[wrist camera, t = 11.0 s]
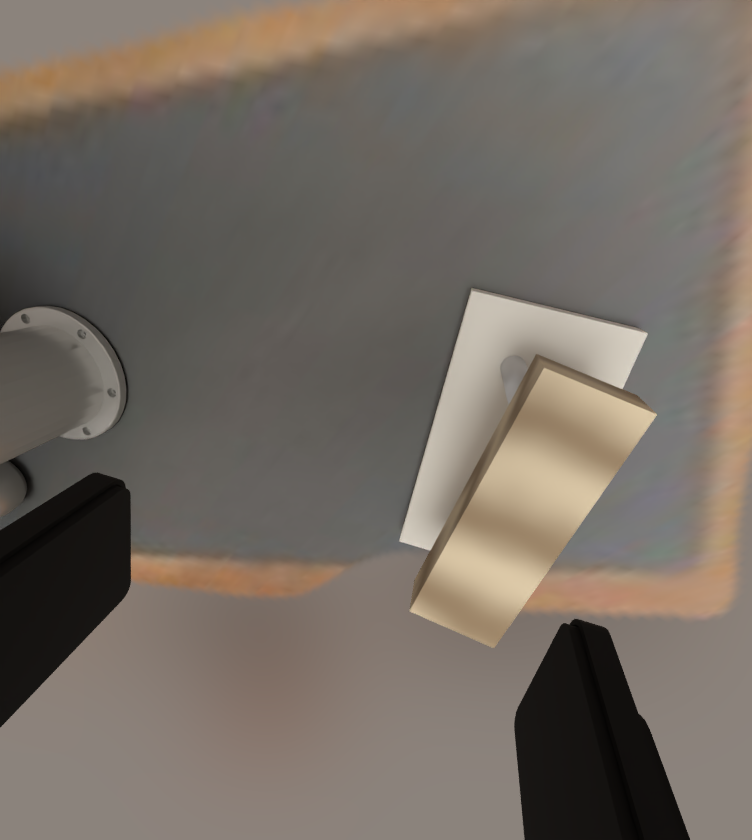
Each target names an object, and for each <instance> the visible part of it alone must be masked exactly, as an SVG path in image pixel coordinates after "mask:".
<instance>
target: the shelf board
mask: <svg viewBox="0 0 752 840" xmlns="http://www.w3.org/2000/svg"><path fill="white" fill-rule="evenodd" d="M656 416H657V414H656V413H655V412H654V411H653V410H652V409H651V408H650V407H649V406H648V405H647V404H646V403H645V402H644V401H642V400H641V399H640V398H639V397H638V396H637V395H635V394H632V393H630V392H628V391H625V390H623V389H620V388H618V387H616V386H613V385H611V384H608V383H606V382H603V381H601V380H599V379H596V378H594V377H591V376H589V375H587V374H584V373H582V372H579V371H577V370H574V369H572V368H570V367H567V366H565V365H562V364H560V363H558V362H555V361H553V360H550V359H548V358H545V357H543V356H541V355H538V354H536V355H535V357H534V359H533V361H532V363H531V364H530V366H529V368H528V370H527V372H526V374H525V376H524V377H523V379H522V381H521V383H520V385H519V387H518V389H517V390H516V392H515V394H514V396H513V398H512V400H511V402H510V403H509V405H508V407H507V409H506V411H505V413H504V415H503V416H502V418H501V420H500V422H499V424H498V426H497V428H496V430H495V431H494V433H493V435H492V437H491V439H490V441H489V443H488V444H487V446H486V448H485V450H484V452H483V454H482V456H481V457H480V459H479V461H478V463H477V465H476V467H475V469H474V470H473V472H472V474H471V476H470V478H469V480H468V482H467V483H466V485H465V487H464V489H463V491H462V493H461V495H460V496H459V498H458V500H457V502H456V504H455V506H454V508H453V510H452V511H451V513H450V515H449V517H448V519H447V521H446V523H445V524H444V526H443V528H442V530H441V532H440V534H439V536H438V537H437V539H436V541H435V543H434V545H433V547H432V549H431V550H430V552H429V554H428V556H427V558H426V560H425V562H424V563H423V565H422V568H421V569H420V571H419V573H418V575H417V577H416V578H415V580H414V586H413V593H412V599H411V605H410V612H412V613H415V614H417V615H419V616H422V617H424V618H426V619H428V620H431V621H433V622H435V623H438V624H440V625H442V626H444V627H447V628H449V629H451V630H453V631H456V632H458V633H461V634H463V635H465V636H467V637H469V638H472V639H474V640H477V641H479V642H481V643H483V644H485V645H488V646H490V647H492V648H494V647H495V646H496V645H497V643H498V642H499V640H500V639H501V637H502V636H503V634H504V633H505V631H506V630H507V629H508V627H509V626H510V624H511V623H512V622H513V620H514V618H515V617H516V616H517V615H518V613H519V612H520V610H521V609H522V607H523V606H524V605H525V603H526V602H527V600H528V599H529V597H530V596H531V594H532V593H533V592H534V590H535V589H536V587H537V586H538V584H539V583H540V582H541V580H542V579H543V577H544V576H545V574H546V573H547V572H548V570H549V569H550V567H551V566H552V564H553V563H554V562H555V560H556V559H557V557H558V556H559V554H560V553H561V552H562V550H563V549H564V547H565V546H566V544H567V543H568V542H569V540H570V539H571V537H572V536H573V534H574V533H575V531H576V530H577V529H578V527H579V526H580V524H581V523H582V521H583V520H584V519H585V517H586V516H587V514H588V513H589V511H590V510H591V509H592V507H593V506H594V504H595V503H596V501H597V500H598V499H599V497H600V496H601V494H602V493H603V491H604V490H605V489H606V487H607V486H608V484H609V483H610V481H611V480H612V479H613V477H614V476H615V474H616V473H617V471H618V470H619V468H620V467H621V466H622V464H623V463H624V461H625V460H626V458H627V457H628V456H629V454H630V453H631V451H632V450H633V448H634V447H635V446H636V444H637V443H638V441H639V440H640V438H641V437H642V436H643V434H644V433H645V431H646V430H647V428H648V427H649V426H650V424H651V423H652V421H653V420H654V418H655V417H656Z"/></svg>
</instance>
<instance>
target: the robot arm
mask: <svg viewBox="0 0 752 840" xmlns="http://www.w3.org/2000/svg"><path fill="white" fill-rule="evenodd" d="M125 403H126V383H125V376H124V373H123V370H122V367H121V364H120V362H119V360H118V358H117V356H116V354H115V352H114V350H113V349H112V347H111V346H110V344H109V343H108V341H107V340H106V339H105V337H104V336H103V335H102V334H101V333H100V332H99V331H98V330H97V329H96V328H95V327H94V326H93V325H91V324H90V323H89V322H88V321H86V320H85V319H84V318H82V317H80V316H78V315H77V314H75V313H73V312H71V311H68V310H66V309H63V308H60V307H54V306H37V307H32V308H26V309H23V310H21V311H19V312H17V313H15V314H13V315H12V316H11V317H10V318H9V319H8V320H7V321H6V323H5V324H4V326H3V327H2V329H1V332H0V464H2V463H4V462H6V461H8V460H10V459H13V458H15V457H17V456H19V455H21V454H23V453H25V452H27V451H29V450H31V449H33V448H35V447H37V446H39V445H41V444H44V443H46V442H48V441H50V440H52V439H54V438H56V437H58V436H61V437H64V438H69V439H74V440H85V439H90V438H94V437H96V436H98V435H100V434H102V433H104V432H106V431H108V430H109V429H111V428H112V427H113V426H114V425H115V424H116V423H117V422H118V420H119V419H120V417H121V415H122V413H123V411H124V407H125ZM130 583H131V514H130V491H129V490H128V489H126V487H125V483H124V482H123V481H122V480H120V479H117V478H113V477H110V476H107V475H103V474H100V473H92V474H90V475H88V476H87V477H85V478H83V479H82V480H80V481H79V482H77V483H75V484H74V485H72V486H71V487H69V488H67V489H66V490H64V491H63V492H61V493H59V494H58V495H56V496H55V497H53V498H51V499H50V500H48V501H47V502H45V503H43V504H42V505H40V506H39V507H37V508H35V509H34V510H32V511H31V512H29V513H27V514H26V515H24V516H23V517H21V518H19V519H18V520H16V521H15V522H13V523H11V524H10V525H8V526H7V527H5V528H3V529H2V530H0V727H1V726H2V725H3V724H4V723H5V722H6V721H7V720H8V719H9V718H10V717H11V716H12V715H13V714H14V713H15V712H16V710H17V709H19V707H20V706H21V705H22V704H23V703H24V702H25V701H26V700H27V699H28V698H29V697H30V696H31V695H32V694H33V693H34V692H35V691H36V690H37V689H38V688H39V687H40V685H41V684H42V683H43V682H44V681H45V680H46V679H47V678H48V677H49V676H50V675H51V674H52V673H53V672H54V671H55V670H56V669H57V668H58V667H59V666H60V664H62V662H63V661H64V660H65V659H66V658H67V657H68V656H69V655H70V654H71V653H72V652H73V651H74V650H75V649H76V648H77V647H78V646H79V645H80V644H81V643H82V642H83V640H84V639H85V638H86V637H87V636H88V635H89V634H90V633H91V632H92V631H93V630H94V629H95V628H96V627H97V626H98V625H99V624H100V623H101V622H102V621H103V620H104V619H105V618H106V616H107V615H108V614H109V613H110V612H111V611H112V610H113V609H114V608H115V607H116V606H117V605H118V604H119V603H120V602H121V601H122V599H123V598H124V597H125V596H126V594H127V592H128V590H129V587H130ZM514 727H515V739H516V750H517V761H518V772H519V783H520V794H521V804H522V816H523V826H524V837H525V840H690V838H689V836H688V832H687V830H686V827H685V824H684V822H683V819H682V816H681V813H680V811H679V808H678V805H677V802H676V800H675V797H674V794H673V792H672V789H671V786H670V783H669V781H668V778H667V775H666V772H665V770H664V767H663V764H662V762H661V759H660V756H659V754H658V751H657V748H656V745H655V743H654V740H653V737H652V734H651V732H650V729H649V727H648V725H647V723H646V721H645V720H644V719H643V718H642V716H641V715H639V714H638V711H637V709H636V706H635V703H634V700H633V697H632V694H631V692H630V689H629V686H628V683H627V681H626V678H625V675H624V672H623V669H622V666H621V664H620V661H619V658H618V655H617V652H616V650H615V647H614V644H613V641H612V638H611V635H610V633H609V631H608V630H607V629H606V628H604V627H602V626H598V625H595V624H592V623H589V622H585V621H582V620H578V619H574V620H573V621H572V622H571V623H570V625H569V624H566V623H563V624H562V625H561V626H560V628H559V630H558V632H557V634H556V636H555V638H554V639H553V641H552V644H551V645H550V647H549V649H548V651H547V653H546V655H545V657H544V659H543V661H542V663H541V664H540V666H539V668H538V670H537V672H536V674H535V676H534V678H533V680H532V682H531V684H530V686H529V688H528V689H527V691H526V693H525V695H524V697H523V699H522V701H521V703H520V705H519V707H518V709H517V712H516V716H515V726H514Z"/></svg>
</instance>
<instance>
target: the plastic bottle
mask: <svg viewBox="0 0 752 840" xmlns="http://www.w3.org/2000/svg"><path fill="white" fill-rule="evenodd" d="M26 492H27V483H26V481H25V478H24V476H23V475H22V473H21V472H20V470H19V469H18V468H17V467H16V466H15V465H13V464H12V463H11V462H9V461H6V462H4V463H2V464H0V517H2V516H4V515H7V514H8V513H10V512H11V511H13V510H14V509H15V508H16V507H17V506H19V505H20V504H21V503H22V502H23V500H24V498H25V495H26Z"/></svg>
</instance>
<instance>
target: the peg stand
mask: <svg viewBox="0 0 752 840" xmlns="http://www.w3.org/2000/svg"><path fill="white" fill-rule="evenodd" d="M647 334H648V333H646V332H645V331H643V330H641V329H639V328H636V327H632V326H628V325H624V324H620V323H615V322H611V321H607V320H603V319H599V318H595V317H591V316H587V315H582V314H578V313H574V312H570V311H566V310H562V309H558V308H553V307H549V306H545V305H541V304H537V303H533V302H529V301H525V300H520V299H516V298H512V297H508V296H504V295H500V294H496V293H491V292H487V291H483V290H479V289H475V288H471V292H470V295H469V299H468V302H467V306H466V309H465V313H464V316H463V319H462V323H461V326H460V330H459V333H458V337H457V340H456V344H455V347H454V351H453V354H452V358H451V361H450V365H449V368H448V372H447V375H446V379H445V382H444V386H443V389H442V392H441V396H440V399H439V403H438V406H437V410H436V413H435V417H434V420H433V424H432V427H431V431H430V434H429V438H428V441H427V445H426V448H425V452H424V455H423V459H422V462H421V466H420V469H419V472H418V476H417V479H416V483H415V486H414V490H413V493H412V497H411V500H410V504H409V507H408V511H407V514H406V518H405V521H404V525H403V528H402V532H401V537H400V542H403V543H407V544H410V545H413V546H417V547H420V548H423V549H427V550H431V549H432V547H433V545H434V543H435V541H436V539H437V537H438V536H439V534H440V532H441V530H442V528H443V526H444V524H445V523H446V521H447V519H448V517H449V515H450V513H451V511H452V510H453V508H454V506H455V504H456V502H457V500H458V498H459V496H460V495H461V493H462V491H463V489H464V487H465V485H466V483H467V482H468V480H469V478H470V476H471V474H472V472H473V470H474V469H475V467H476V465H477V463H478V461H479V459H480V457H481V456H482V454H483V452H484V450H485V448H486V446H487V444H488V443H489V441H490V439H491V437H492V435H493V433H494V431H495V430H496V428H497V426H498V424H499V422H500V420H501V418H502V416H503V415H504V413H505V411H506V409H507V407H508V405H509V403H510V402H511V400H512V398H513V396H514V394H515V392H516V390H517V389H518V387H519V385H520V383H521V381H522V379H523V377H524V376H525V374H526V372H527V370H528V368H529V366H530V364H531V363H532V361H533V359H534V357H535V355H536V354H538V355H541V356H543V357H545V358H548V359H550V360H553V361H555V362H558V363H560V364H562V365H565V366H567V367H570V368H572V369H574V370H577V371H579V372H582V373H584V374H587V375H589V376H591V377H594V378H596V379H599V380H601V381H603V382H606V383H608V384H611V385H613V386H616V387H618V388H620V389H623V387H624V385H625V382H626V380H627V378H628V376H629V374H630V371H631V369H632V367H633V365H634V363H635V361H636V358H637V356H638V354H639V352H640V350H641V347H642V345H643V343H644V341H645V339H646V337H647Z"/></svg>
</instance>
